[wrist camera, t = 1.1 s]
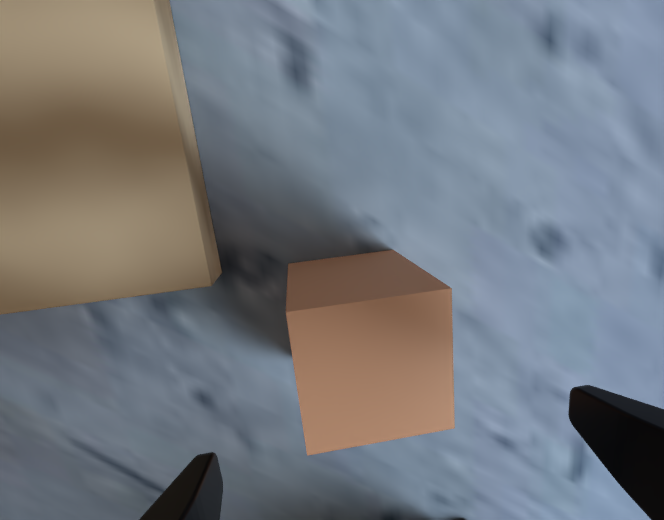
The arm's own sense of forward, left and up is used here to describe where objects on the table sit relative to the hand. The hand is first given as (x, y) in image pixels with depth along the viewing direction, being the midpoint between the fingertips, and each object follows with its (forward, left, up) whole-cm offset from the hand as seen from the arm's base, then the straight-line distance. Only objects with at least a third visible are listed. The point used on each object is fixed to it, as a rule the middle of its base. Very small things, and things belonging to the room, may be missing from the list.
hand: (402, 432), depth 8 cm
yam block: (0, 0, -8) cm, 8 cm away
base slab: (+8, +11, -8) cm, 16 cm away
